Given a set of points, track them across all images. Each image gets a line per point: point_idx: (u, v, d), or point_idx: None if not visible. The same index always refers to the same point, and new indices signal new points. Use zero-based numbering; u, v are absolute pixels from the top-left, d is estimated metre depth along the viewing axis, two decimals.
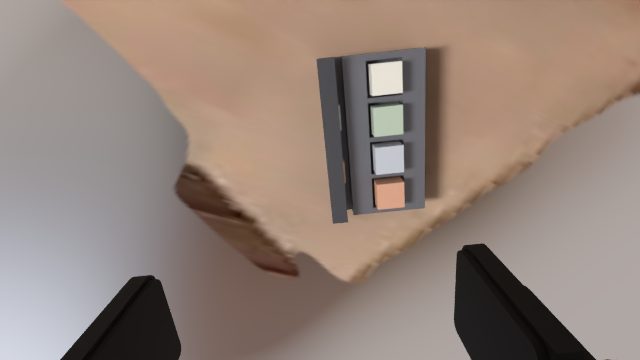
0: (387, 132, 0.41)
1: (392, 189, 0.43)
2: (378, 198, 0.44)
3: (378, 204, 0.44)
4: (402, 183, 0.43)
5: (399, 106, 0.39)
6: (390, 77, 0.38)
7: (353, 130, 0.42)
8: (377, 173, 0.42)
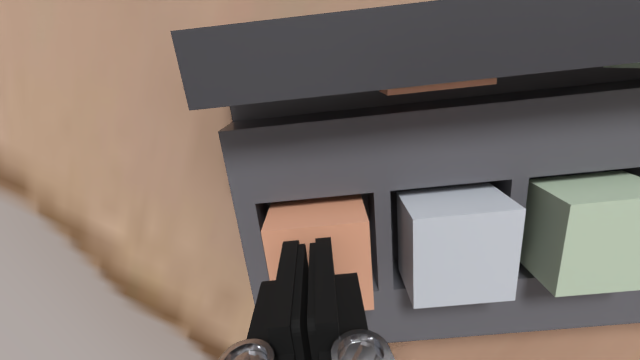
0: (576, 248, 0.11)
1: None
2: (310, 230, 0.11)
3: (284, 232, 0.11)
4: (369, 304, 0.12)
5: None
6: None
7: (571, 118, 0.11)
8: (418, 223, 0.11)
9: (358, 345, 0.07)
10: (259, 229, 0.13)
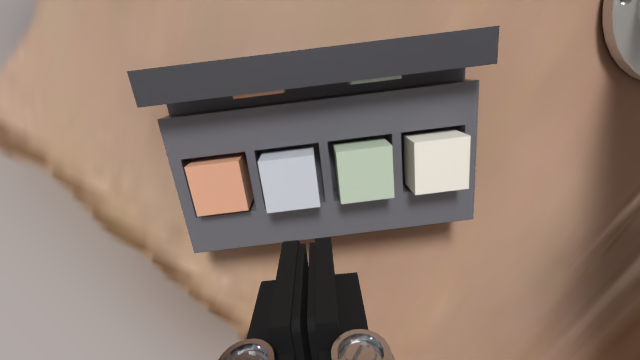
0: (344, 175, 0.21)
1: (231, 190, 0.22)
2: (209, 166, 0.22)
3: (196, 167, 0.22)
4: (245, 207, 0.23)
5: (392, 192, 0.22)
6: (444, 171, 0.21)
7: (341, 109, 0.21)
8: (260, 163, 0.21)
9: (358, 345, 0.07)
10: (184, 174, 0.22)
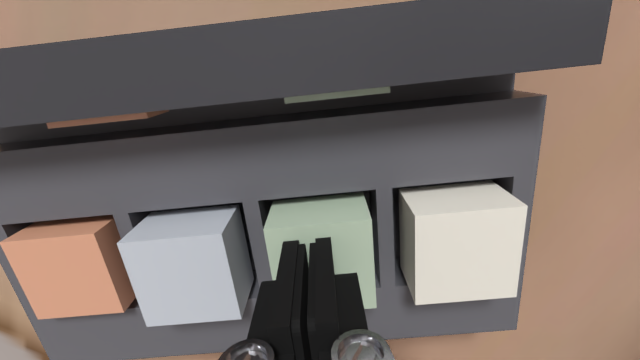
0: None
1: (90, 282, 0.13)
2: (44, 241, 0.12)
3: (21, 242, 0.12)
4: (118, 308, 0.13)
5: (371, 299, 0.12)
6: (472, 267, 0.11)
7: (281, 145, 0.11)
8: (123, 246, 0.11)
9: (358, 345, 0.07)
10: None
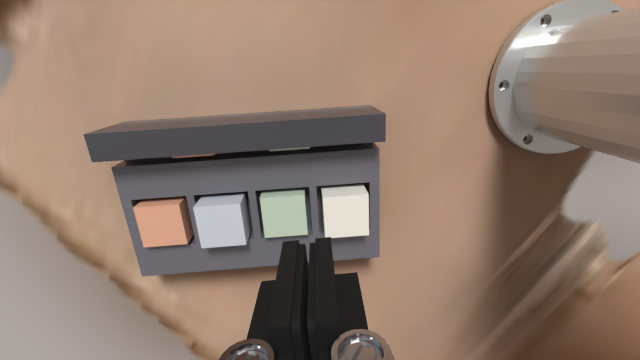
0: (267, 216, 0.27)
1: (173, 228, 0.27)
2: (154, 207, 0.26)
3: (143, 208, 0.26)
4: (185, 241, 0.27)
5: (305, 230, 0.27)
6: (348, 221, 0.26)
7: (266, 166, 0.26)
8: (195, 209, 0.25)
9: (358, 345, 0.07)
10: None
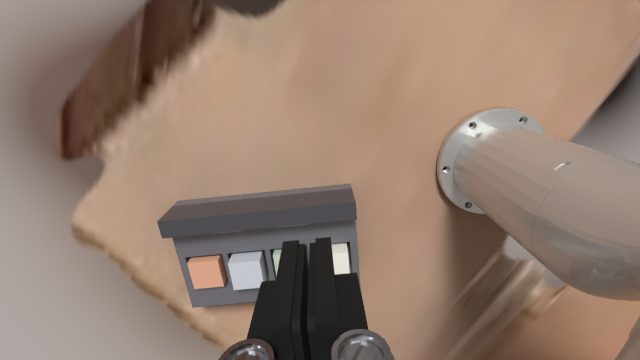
0: None
1: (214, 276, 0.38)
2: (201, 263, 0.38)
3: (193, 263, 0.38)
4: (222, 284, 0.39)
5: None
6: (335, 270, 0.37)
7: (277, 233, 0.37)
8: (229, 264, 0.37)
9: (358, 345, 0.07)
10: (187, 265, 0.39)
